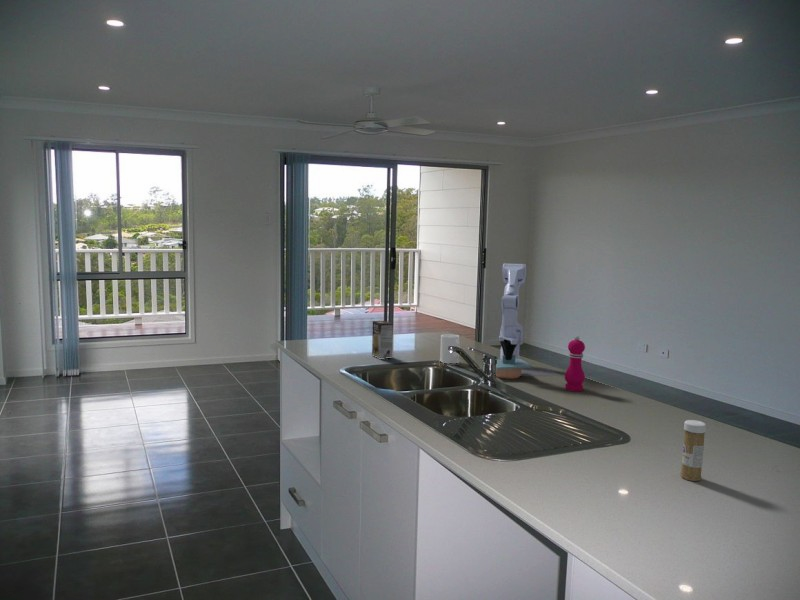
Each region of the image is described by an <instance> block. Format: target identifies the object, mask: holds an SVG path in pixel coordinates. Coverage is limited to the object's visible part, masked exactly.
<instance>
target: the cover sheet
mask: <svg viewBox="0 0 800 600" xmlns="http://www.w3.org/2000/svg"><path fill="white" fill-rule="evenodd" d="M496 360H497V364H496V370H499V369H517V368H532V367H533V366H532V365H531V364H530V363H528V362H526V361H525V360H524V359H521V358H520V357H519V358H518V359H515V355H512V359H511V360H506V358H505V355H502V359H500V358H498V359H496Z"/></svg>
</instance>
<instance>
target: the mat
mask: <svg viewBox="0 0 800 600" xmlns="http://www.w3.org/2000/svg"><path fill="white" fill-rule="evenodd" d="M521 376H522V377H560V376H561V375H560V374H559V373H557V372H555V371H553V370H552V369H550V368H548V367H545V366H544V367H543V366H541V367H537V366H534V367H533V366H532V368H522V374H521Z"/></svg>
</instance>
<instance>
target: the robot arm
mask: <svg viewBox="0 0 800 600" xmlns="http://www.w3.org/2000/svg"><path fill="white" fill-rule="evenodd" d="M501 270H502V274H501V275H502V281H503V283H504V284H505V286H504V289H503V290H504V291H503V296H502V297H501V314H502V316H501V317H502V318H501V326H500V331H499V336H498V339H499V344H500V345H501V346H500V349H499V350H500V357H499V359H502V355H505V358H506V360H511V359H512V355H515V359H518V358H520V346H522V345H523V342H524V328H523V326H522V325H521V324H520V323H519V322H518V314H519V313H518V312H519V311H518V310H519V306H520V305H519V304H520V298H519V293H520V288H521V286H522V285H523V284H525V283H526V276H527V265H526V263H506V262H504V263H503V264H502V269H501Z"/></svg>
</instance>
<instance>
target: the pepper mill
mask: <svg viewBox="0 0 800 600" xmlns="http://www.w3.org/2000/svg"><path fill="white" fill-rule="evenodd" d="M567 349H568V351H569V352H568V357H569V365H568V368H567V369H566V371H565V374H564V380H565V381H566V383H565V387H564V388H565V390H567V391H569V390H571V391H570V392H582V391H583V390H584V384H583V383H584V382H585V381H586V375H585V372H584V370H583V367H582V360H583V358H584V353H583V352H584V351H585V349H586V345H585V343H584V342H583V341H582V340H580V336H579V335H575V336H574V339H572V340H570V342H568V345H567Z"/></svg>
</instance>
